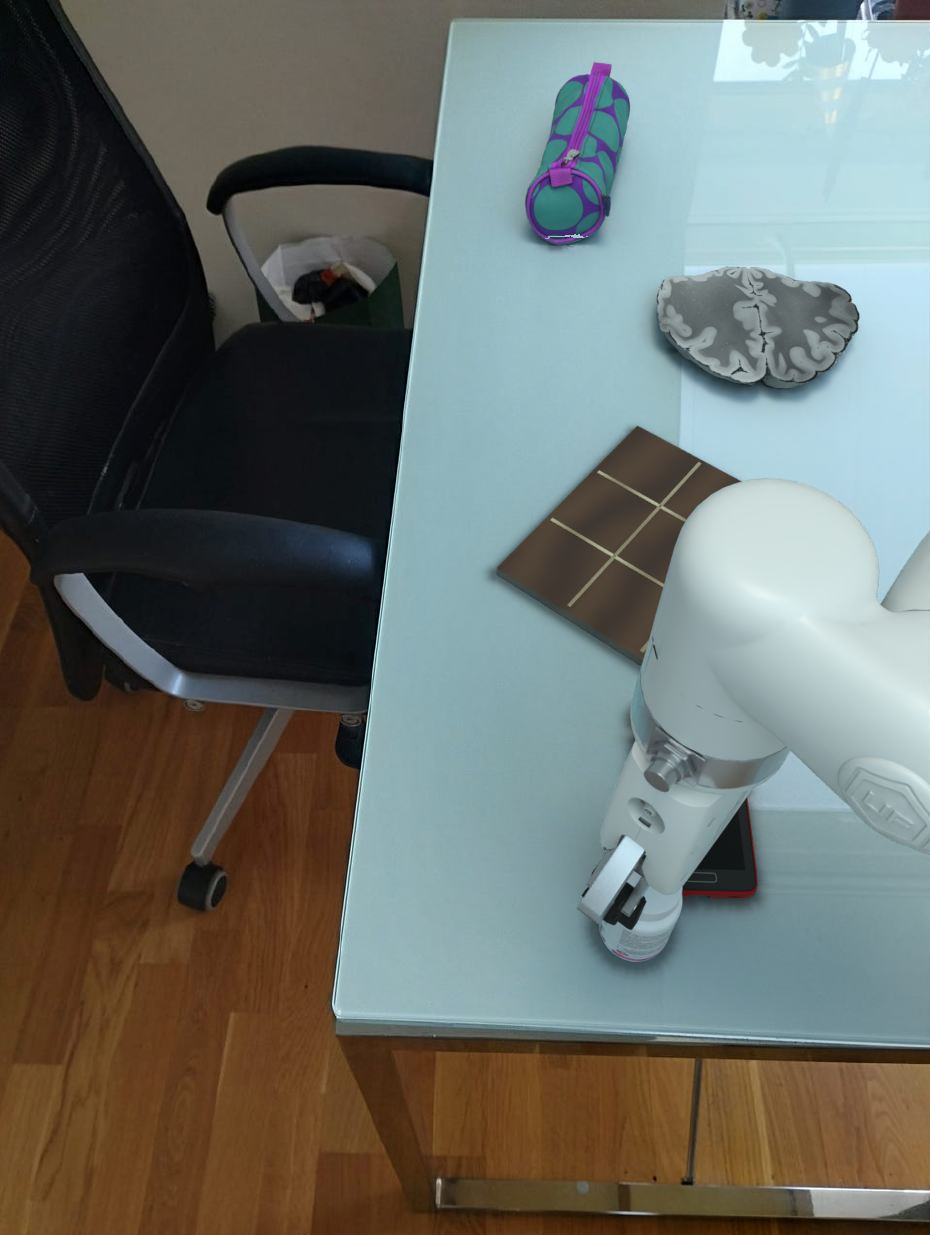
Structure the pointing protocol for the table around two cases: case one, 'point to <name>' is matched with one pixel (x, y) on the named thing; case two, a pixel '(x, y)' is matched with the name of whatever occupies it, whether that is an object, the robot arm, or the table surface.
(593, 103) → the pencil case
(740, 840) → the cell phone
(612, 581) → the grid board
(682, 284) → the brain slice
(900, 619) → the robot arm
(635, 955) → the pill bottle
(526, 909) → the table surface
